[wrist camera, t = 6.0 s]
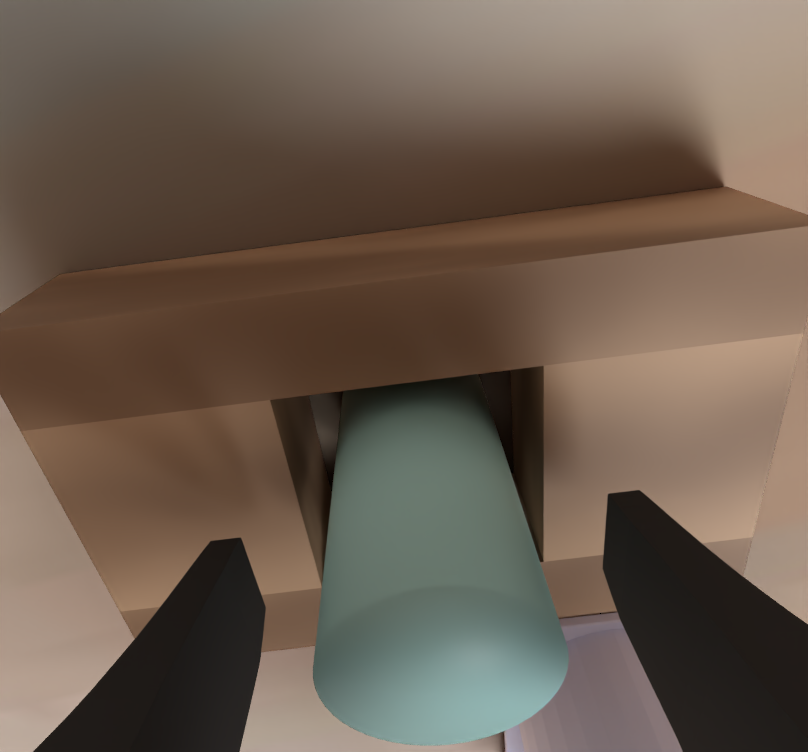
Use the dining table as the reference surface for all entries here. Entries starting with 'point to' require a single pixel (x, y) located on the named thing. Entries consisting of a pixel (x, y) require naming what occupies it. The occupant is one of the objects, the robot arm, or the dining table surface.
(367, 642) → the peg
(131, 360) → the socket
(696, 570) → the robot arm
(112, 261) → the dining table surface
